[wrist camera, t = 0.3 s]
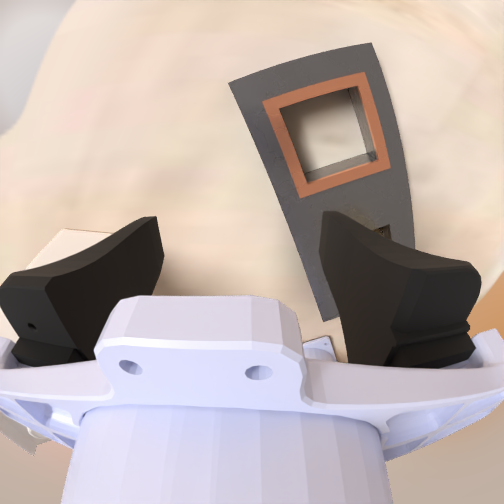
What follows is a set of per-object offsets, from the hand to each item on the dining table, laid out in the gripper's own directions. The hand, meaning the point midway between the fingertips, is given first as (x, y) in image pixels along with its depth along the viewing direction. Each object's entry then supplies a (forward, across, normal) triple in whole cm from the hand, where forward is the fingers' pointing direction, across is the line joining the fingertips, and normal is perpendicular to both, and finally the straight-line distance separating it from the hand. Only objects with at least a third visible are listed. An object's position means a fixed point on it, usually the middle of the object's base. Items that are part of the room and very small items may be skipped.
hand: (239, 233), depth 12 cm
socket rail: (+10, -8, +2) cm, 13 cm away
